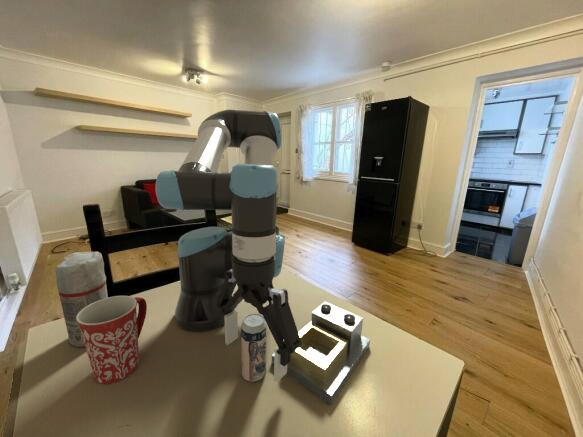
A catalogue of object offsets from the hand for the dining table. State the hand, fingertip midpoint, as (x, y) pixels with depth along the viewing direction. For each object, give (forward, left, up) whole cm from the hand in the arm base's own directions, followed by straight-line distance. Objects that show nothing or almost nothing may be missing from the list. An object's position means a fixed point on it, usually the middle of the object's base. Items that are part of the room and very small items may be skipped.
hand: (254, 357), depth 48 cm
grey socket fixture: (+8, +13, -4) cm, 16 cm away
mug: (-22, -15, -4) cm, 27 cm away
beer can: (0, 0, -4) cm, 4 cm away
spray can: (-36, -17, -4) cm, 40 cm away
